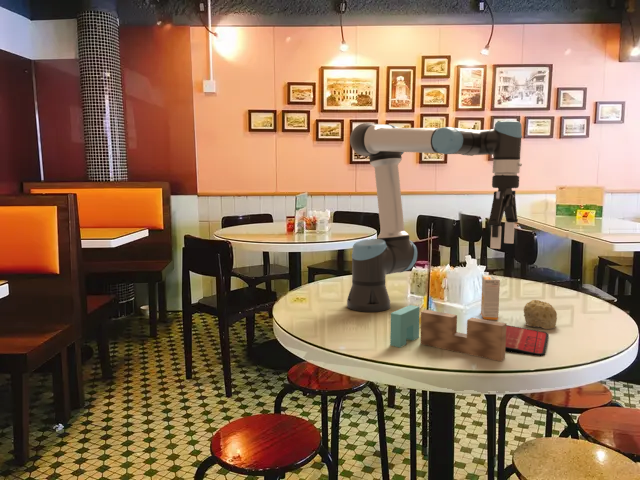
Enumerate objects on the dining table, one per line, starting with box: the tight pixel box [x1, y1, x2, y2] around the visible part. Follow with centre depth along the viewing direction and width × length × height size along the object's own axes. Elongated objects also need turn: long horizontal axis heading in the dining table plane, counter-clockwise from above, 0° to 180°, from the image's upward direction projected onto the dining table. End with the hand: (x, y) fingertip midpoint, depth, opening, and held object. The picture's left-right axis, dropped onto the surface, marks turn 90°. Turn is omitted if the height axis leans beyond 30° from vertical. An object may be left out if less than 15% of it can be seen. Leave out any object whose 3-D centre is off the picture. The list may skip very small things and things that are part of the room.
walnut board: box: [420, 309, 508, 362], centre depth 135 cm, size 22×3×9 cm, turn 52°
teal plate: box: [389, 304, 421, 348], centre depth 143 cm, size 11×3×9 cm, turn 142°
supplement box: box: [480, 274, 501, 321], centre depth 167 cm, size 8×5×13 cm, turn 168°
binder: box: [505, 324, 550, 357], centre depth 143 cm, size 16×2×21 cm
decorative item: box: [523, 299, 558, 330], centre depth 158 cm, size 10×10×10 cm
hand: (502, 245), depth 155 cm, fingers open, 13 cm apart
